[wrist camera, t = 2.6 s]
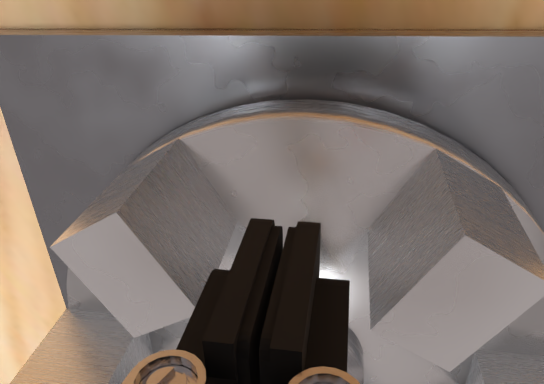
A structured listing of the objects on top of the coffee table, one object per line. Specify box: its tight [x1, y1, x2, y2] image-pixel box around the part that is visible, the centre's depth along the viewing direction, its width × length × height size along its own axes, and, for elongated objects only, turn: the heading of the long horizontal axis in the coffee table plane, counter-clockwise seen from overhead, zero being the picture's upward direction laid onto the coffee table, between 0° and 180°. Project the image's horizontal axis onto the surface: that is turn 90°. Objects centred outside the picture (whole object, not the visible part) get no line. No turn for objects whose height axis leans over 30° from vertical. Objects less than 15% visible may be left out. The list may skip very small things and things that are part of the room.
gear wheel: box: [10, 99, 544, 384], centre depth 18 cm, size 20×20×6 cm
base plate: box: [0, 29, 544, 309], centre depth 21 cm, size 24×24×1 cm
